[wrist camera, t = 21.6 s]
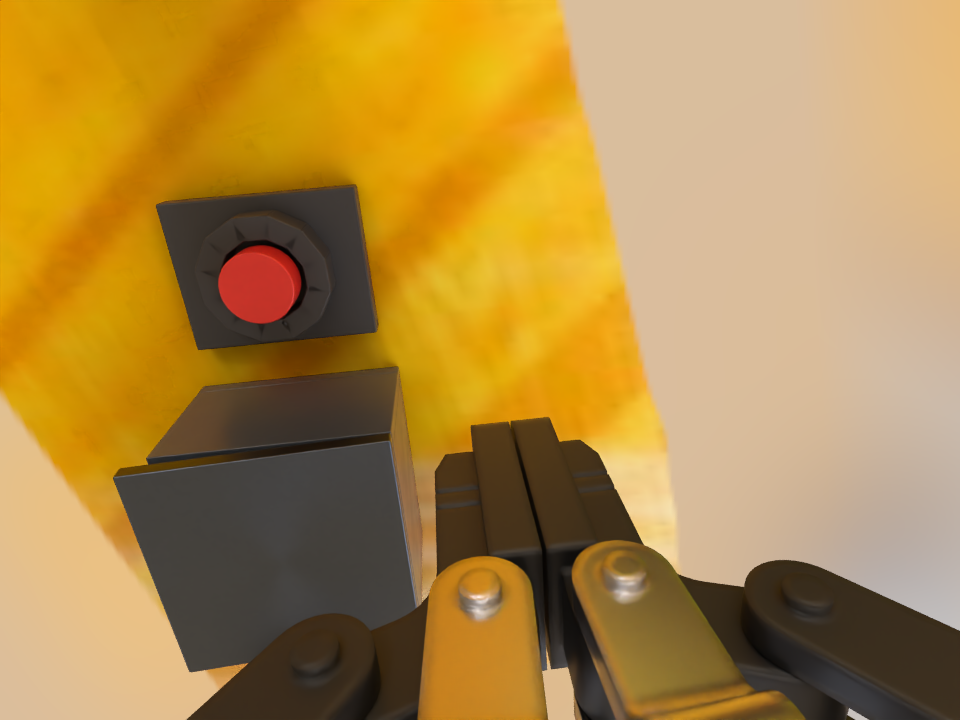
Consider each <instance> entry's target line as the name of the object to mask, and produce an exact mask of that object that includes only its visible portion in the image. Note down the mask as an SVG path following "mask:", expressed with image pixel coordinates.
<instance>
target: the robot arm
mask: <svg viewBox="0 0 960 720" xmlns="http://www.w3.org/2000/svg"><path fill="white" fill-rule="evenodd" d="M471 436H472V447H473V452H464V453H455V454H446V455H445V457H444V458H443V460H442V461H441V463H440V465H439V466H438V468H437V469H436V471H435V492H436V494H435V498H436V543H437V578H436V579H435V581H434V582H433V584H432V587H431V589H430V593H429V595H428V597H427V598H426V599H425V600H424V601H423V602H422V603H421V604H420V605H419V606H418V607H417V608H416V609H414V610H413V611H412V612H410V613H409V614H407V615H405V616H404V617H402V618H400V619H397V620H395V621H393V622H391V623H388V624H386V625H383V626H381V627H378V628H376V629H373V630H371V631H370V630H369V628H368V627H367V626H366V625H365V624H364V623H363V622H361V621H360V620H359V619H357V618H355V617H352V616H350V615H345V614H338V613H330V614H322V615H317V616H313V617H310V618H307V619H305V620H303V621H301V622H299V623H296V624H295V625H293V626H292V627H290V628H288V629H287V630H286V631H285V632H283V633H282V634H281V635H280V636H278V637H277V638H276V639H275V640H274V641H273V642H272V643H271V644H270V645H268V646H267V647H266V648H265V649H264V650H263V651H262V652H261V653H260V654H259V655H257V656H256V657H255V658H254V659H253V660H252V661H251V662H250V663H249V664H247V665H246V666H245V667H244V668H243V669H242V670H241V671H240V672H239V673H238V674H236V675H235V676H234V677H233V678H232V679H231V680H230V681H229V682H228V683H226V684H225V685H224V686H223V687H222V688H221V689H220V690H219V691H218V692H217V693H215V694H214V695H213V696H212V697H211V698H210V699H209V700H208V701H207V702H206V703H204V704H203V705H202V706H201V707H200V708H199V709H198V710H197V711H196V712H194V713H193V714H192V715H191V716H190V717H189V718H188V719H187V720H548V716H547V708H546V699H545V691H544V683H543V674H542V671H544V670H547V658H546V647H547V652H548V657H549V661H550V666H551V669H558V668H565V667H568V669H569V672H570V676H571V680H572V684H573V688H574V715H575V719H576V720H855V719H853V718H851V717H850V716H848V715H847V713H848V709H849V708H850V709H852V710H854V711H855V712H857V713H859V714H861V715H862V716H864V717H865V718H867V719H869V720H960V631H959V630H956V629H955V628H952V627H950V626H948V625H946V624H943V623H941V622H939V621H937V620H935V619H933V618H930V617H928V616H926V615H924V614H921V613H919V612H917V611H915V610H913V609H911V608H908V607H906V606H904V605H902V604H900V603H897V602H895V601H893V600H891V599H889V598H886V597H884V596H882V595H880V594H878V593H876V592H873V591H871V590H869V589H867V588H864V587H862V586H860V585H858V584H856V583H854V582H851V581H849V580H847V579H845V578H843V577H840V576H838V575H836V574H834V573H832V572H829V571H827V570H825V569H822V568H820V567H818V566H814V565H811V564H808V563H804V562H799V561H791V560H776V561H770V562H766V563H763V564H761V565H759V566H757V567H755V568H754V569H753V570H752V571H751V572H750V573H749V574H748V576H747V578H746V581H745V585H744V587H740V586H732V585H725V584H717V583H710V582H703V581H698V580H693V579H690V578H687V577H684V576H681V575H679V574H677V573H676V572H675V570H674V568H673V567H672V566H671V564H670V563H669V562H668V561H667V560H666V559H665V558H664V557H663V556H662V555H661V554H659V553H658V552H656V551H655V550H653V549H651V548H649V547H647V546H644V545H643V543H642V541H641V539H640V537H639V535H638V533H637V531H636V529H635V527H634V525H633V523H632V521H631V519H630V517H629V515H628V513H627V511H626V509H625V507H624V504H623V502H622V500H621V498H620V496H619V494H618V492H617V490H616V489H614V484H613V482H612V480H611V478H610V476H609V474H608V475H607V470H606V468H605V466H604V464H603V462H602V460H601V458H600V456H599V454H598V453H597V452H596V451H594V450H593V449H592V448H590V447H589V446H588V445H586V444H585V443H584V442H582V441H581V440H571V441H562V442H559V440H558V438H557V435H556V433H555V430H554V428H553V425H552V423H551V420H550V418H549V417H544V418H534V419H525V420H516V421H511V425H509V422H499V423H490V424H480V425H471Z"/></svg>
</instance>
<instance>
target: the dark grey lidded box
mask: <svg viewBox="0 0 960 720" xmlns="http://www.w3.org/2000/svg"><path fill="white" fill-rule="evenodd" d="M386 433H390V434H391V438H392V444H393V451H394V457H395V463H396V469H397V476H398V482H399V488H400V494H401V501H402V507H403V513H404V520H405V526H406V532H407V538H408V545H409V551H410V557H411V564H412V570H413V576H414V582H415V589H416V595H417V601H418V606H419V605H420V604H421V603H422V525H421V518H420V512H419V505H418V498H417V491H416V484H415V477H414V470H413V463H412V457H411V450H410V443H409V436H408V429H407V422H406V415H405V408H404V402H403V395H402V388H401V381H400V374H399V367H388V368H379V369H369V370H359V371H350V372H340V373H330V374H321V375H311V376H301V377H292V378H282V379H272V380H263V381H253V382H243V383H234V384H224V385H214V386H205V387H203V388H202V389H201V391H200V392H199V393H198V394H197V396H196V397H195V398H194V399H193V401H192V402H191V403H190V404H189V406H188V407H187V408H186V409H185V411H184V412H183V413H182V414H181V416H180V417H179V418H178V419H177V420H176V422H175V423H174V424H173V425H172V427H171V428H170V429H169V430H168V432H167V433H166V434H165V435H164V437H163V438H162V439H161V440H160V442H159V443H158V444H157V445H156V447H155V448H154V449H153V450H152V452H151V453H150V454H149V455H148V457H147V458H146V459H147V462H148V465H150V464H158V463H165V462H173V461H180V460H188V459H196V458H203V457H211V456H218V455H226V454H234V453H241V452H249V451H256V450H264V449H272V448H279V447H287V446H294V445H302V444H310V443H317V442H325V441H333V440H340V439H348V438H355V437H363V436H371V435H378V434H386Z"/></svg>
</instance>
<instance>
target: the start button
mask: <svg viewBox="0 0 960 720" xmlns="http://www.w3.org/2000/svg"><path fill="white" fill-rule="evenodd" d="M218 287H219V293H220V296H221V298H222V300H223V302H224V304H225V305H226V306H227V308H228V309H229V310H230V311H231V312H232V313H233V314H235V315H236V316H237V317H239V318H241V319H243V320H245V321H248V322H252V323H259V324H264V323H271V322H274V321H276V320H279V319H280V318H282V317H283V316H284V315H286V314H287V312H288V311H289V310H290V308H291V307H292V306H293V304H294V303H295V301H296V300H297V298H298V296H299V294H300V290H301V276H300V273H299V270H298V268H297V266H296V264H295V263H294V262H293V260H292V259H291V258H290V257H289V256H288V255H287V254H285V253H284V252H282V251H281V250H279V249H277V248H274V247H271V246H267V245H255V246H250V247H247V248H245V249H243V250H242V251H240V252H239V253H237V254H236V255H235V256H234V257H232V258H231V259H230V260H229V261H227V262H226V264H225V265H224V266H223V268H222V270H221V272H220V275H219V280H218Z"/></svg>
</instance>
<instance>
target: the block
mask: <svg viewBox="0 0 960 720" xmlns="http://www.w3.org/2000/svg"><path fill="white" fill-rule="evenodd" d="M156 208H157V212H158V215H159V218H160V222H161V225H162V229H163V232H164V235H165V239H166V242H167V246H168V249H169V253H170V256H171V259H172V263H173V266H174V270H175V273H176V276H177V280H178V283H179V287H180V290H181V293H182V297H183V300H184V304H185V307H186V310H187V314H188V317H189V321H190V324H191V327H192V331H193V334H194V338H195V341H196V345H197V348H198V350H205V349H215V348H225V347H235V346H245V345H255V344H264V343H274V342H284V341H294V340H304V339H314V338H324V337H334V336H344V335H354V334H364V333H374V332H377V328H378V319H377V313H376V307H375V300H374V294H373V287H372V281H371V275H370V268H369V262H368V255H367V249H366V242H365V236H364V230H363V223H362V217H361V210H360V204H359V197H358V191H357V186H356V185H343V186H332V187H321V188H310V189H298V190H287V191H276V192H264V193H253V194H242V195H231V196H219V197H208V198H197V199H186V200H174V201H165V202H162V203H159V204H157V205H156ZM255 245H267V246H271V247H274V248H277V249H279V250H281V251H282V252H284V253H285V254H287V255H288V256H289V257H290V258H291V259H292V260H293V262H294V263H295V264H296V266H297V268H298V270H299V273H300V276H301V290H300V294H299V296H298V298H297V300H296V301H295V303H294V304H293V306H292V307H291V308H290V310H289V311H288V312H287V314H286V315H284V316H283V317H282V318H280V319H279V320H276V321H274V322H271V323H264V324H259V323H252V322H248V321H245V320H243V319H241V318H239V317H237V316H236V315H235V314H233V313H232V312H231V311H230V310H229V309H228V308H227V306H226V305H225V304H224V302H223V300H222V298H221V296H220V293H219V287H218V280H219V275H220V272H221V270H222V268H223V266H224V265H225V264H226V262H227V261H229V260H230V259H231V258H232V257H234V256H235V255H236V254H237V253H239V252H240V251H242V250H243V249H245V248H247V247H250V246H255Z"/></svg>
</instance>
